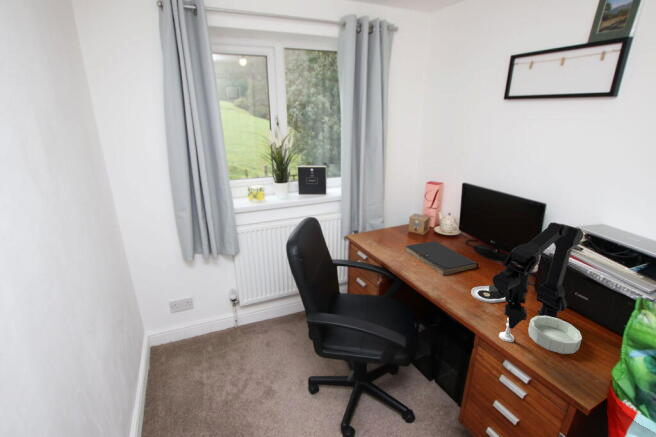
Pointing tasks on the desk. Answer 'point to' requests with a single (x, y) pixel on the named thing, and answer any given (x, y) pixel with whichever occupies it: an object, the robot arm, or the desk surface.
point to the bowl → (554, 334)
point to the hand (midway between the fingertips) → (510, 320)
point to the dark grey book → (440, 257)
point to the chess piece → (507, 334)
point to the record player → (484, 294)
